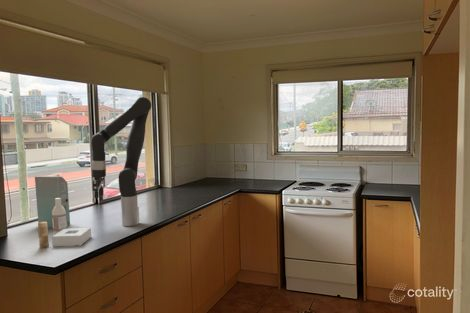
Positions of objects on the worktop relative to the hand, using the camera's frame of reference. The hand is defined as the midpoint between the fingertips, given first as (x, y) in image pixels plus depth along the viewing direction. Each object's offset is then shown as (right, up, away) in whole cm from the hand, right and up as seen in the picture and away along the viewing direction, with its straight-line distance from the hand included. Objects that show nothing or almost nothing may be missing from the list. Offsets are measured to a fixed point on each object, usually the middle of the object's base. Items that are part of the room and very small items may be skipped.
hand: (99, 196), depth 219 cm
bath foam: (-17, -20, -10) cm, 28 cm away
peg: (-16, -21, -31) cm, 41 cm away
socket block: (-5, -20, -24) cm, 32 cm away
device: (-30, -18, +9) cm, 36 cm away
